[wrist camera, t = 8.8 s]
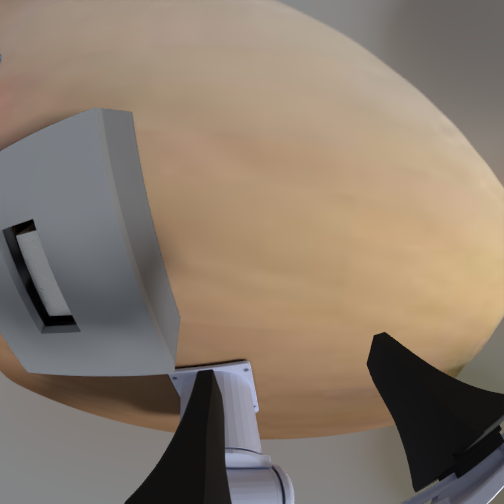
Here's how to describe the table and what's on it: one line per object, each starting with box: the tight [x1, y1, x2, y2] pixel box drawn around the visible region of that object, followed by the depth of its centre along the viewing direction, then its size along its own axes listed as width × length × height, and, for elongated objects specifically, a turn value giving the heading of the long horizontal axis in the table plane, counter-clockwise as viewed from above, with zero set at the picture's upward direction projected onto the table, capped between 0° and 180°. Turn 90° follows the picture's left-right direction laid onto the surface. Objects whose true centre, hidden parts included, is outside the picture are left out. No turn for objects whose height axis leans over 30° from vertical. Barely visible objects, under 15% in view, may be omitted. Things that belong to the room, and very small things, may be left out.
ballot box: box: [0, 108, 180, 376], centre depth 15 cm, size 16×14×6 cm
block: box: [16, 223, 72, 316], centre depth 16 cm, size 6×2×5 cm, turn 5°
